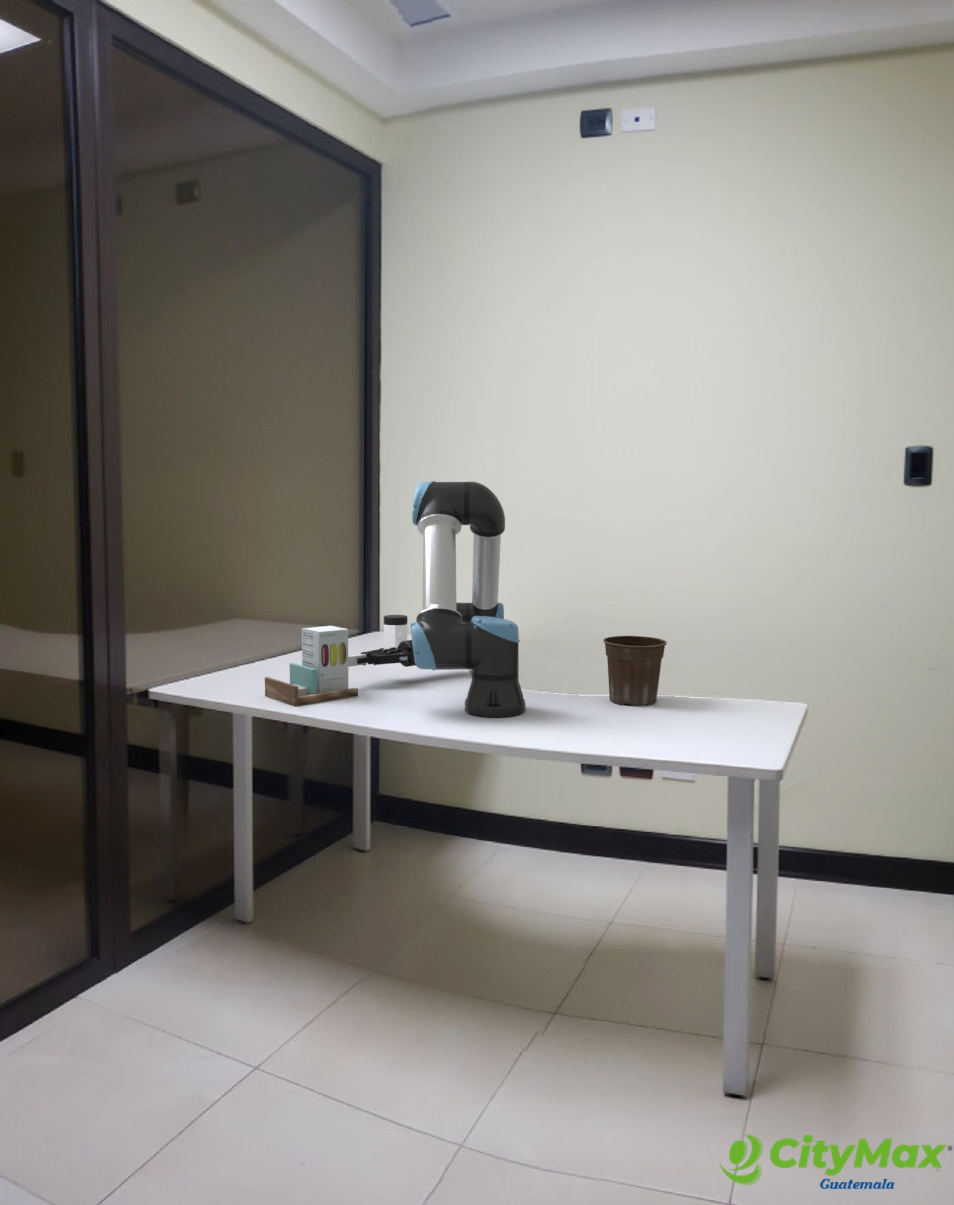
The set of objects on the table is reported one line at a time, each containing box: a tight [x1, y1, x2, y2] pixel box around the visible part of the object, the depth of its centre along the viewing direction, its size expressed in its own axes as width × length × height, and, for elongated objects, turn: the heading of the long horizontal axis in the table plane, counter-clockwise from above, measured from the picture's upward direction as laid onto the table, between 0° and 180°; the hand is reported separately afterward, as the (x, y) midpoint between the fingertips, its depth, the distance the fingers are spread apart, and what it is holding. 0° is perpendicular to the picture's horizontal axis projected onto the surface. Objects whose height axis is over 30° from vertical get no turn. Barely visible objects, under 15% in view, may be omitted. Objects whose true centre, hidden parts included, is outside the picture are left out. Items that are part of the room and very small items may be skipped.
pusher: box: [289, 662, 317, 696], centre depth 249 cm, size 4×12×7 cm, turn 40°
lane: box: [264, 676, 359, 707], centre depth 251 cm, size 19×16×5 cm
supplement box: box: [301, 625, 349, 694], centre depth 253 cm, size 10×9×17 cm
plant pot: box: [603, 635, 668, 707], centre depth 245 cm, size 16×16×16 cm
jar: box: [383, 614, 408, 649], centre depth 322 cm, size 9×8×12 cm
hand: (345, 661), depth 258 cm, fingers closed
